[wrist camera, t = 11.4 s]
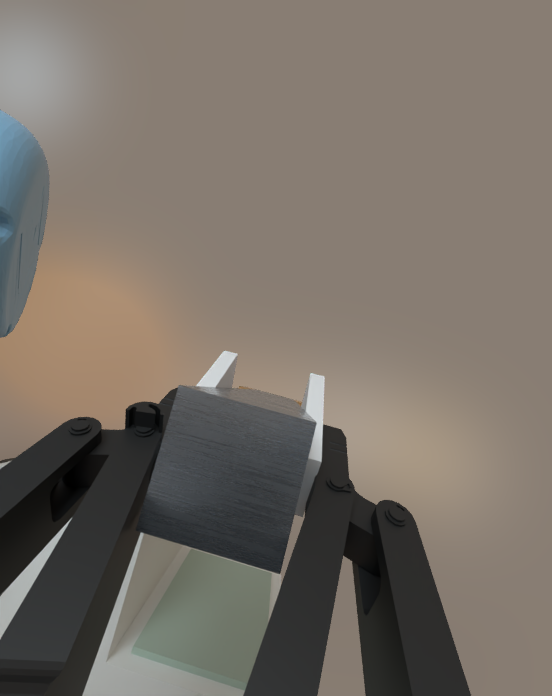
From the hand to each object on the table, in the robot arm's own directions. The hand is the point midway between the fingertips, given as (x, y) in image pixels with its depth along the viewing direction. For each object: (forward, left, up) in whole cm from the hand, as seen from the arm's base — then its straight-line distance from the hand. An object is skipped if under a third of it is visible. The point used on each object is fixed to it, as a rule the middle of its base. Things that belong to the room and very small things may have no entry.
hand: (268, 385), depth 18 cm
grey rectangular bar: (-3, +2, -5) cm, 6 cm away
